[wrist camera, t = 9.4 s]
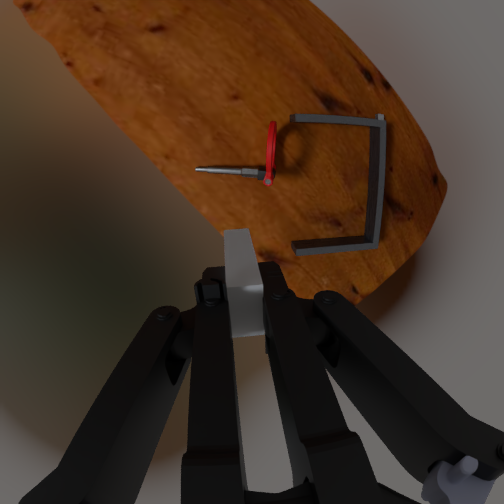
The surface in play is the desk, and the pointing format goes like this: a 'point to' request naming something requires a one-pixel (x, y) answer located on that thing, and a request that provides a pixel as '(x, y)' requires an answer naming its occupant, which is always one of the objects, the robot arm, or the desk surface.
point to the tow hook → (260, 173)
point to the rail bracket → (374, 188)
